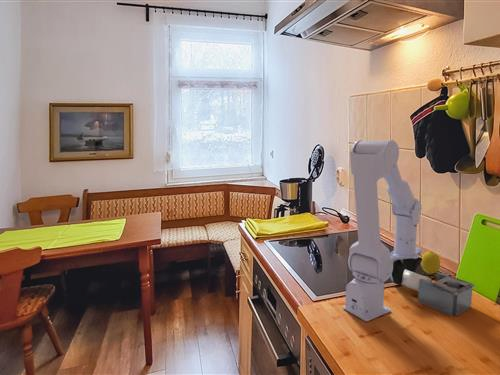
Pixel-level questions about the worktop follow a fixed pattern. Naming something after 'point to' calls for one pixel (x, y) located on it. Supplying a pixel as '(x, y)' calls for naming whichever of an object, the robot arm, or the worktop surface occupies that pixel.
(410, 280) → the cartridge
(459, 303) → the housing
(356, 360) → the worktop surface
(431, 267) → the lemon
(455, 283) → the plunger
